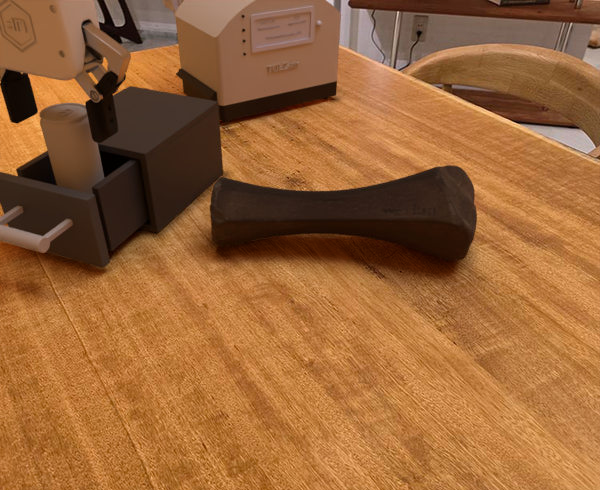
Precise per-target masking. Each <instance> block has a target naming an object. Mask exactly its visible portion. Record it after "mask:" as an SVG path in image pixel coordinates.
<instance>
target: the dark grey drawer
mask: <svg viewBox="0 0 600 490" xmlns="http://www.w3.org/2000/svg"><path fill="white" fill-rule="evenodd" d="M99 153H100V158H101V163H102V168H103V173H104V177H105V178H104V179H102V180H101V181H100V182H98V183H97V184H95V185H94V186H93V187H92V191H93V194H89V193H85V192H81V191H77V190H73V189H69V188H65V187H61V186H57V183H56V180H55V176H54V172H53V169H52V165H51V161H50V158H49V154H48V150H47V149H46V151H43V152H42V153H41V154H39V155H37V156H36V157H33V158H31V159H30V160H28V161H27V162H26V163H23V164H22V165H21V166H18V167H17V168H16V169H15V172H16V175H15V174H11V173H8V172H4V171H3V172H2V171H0V206H1V210H2V212H3V215H1V216H0V242H2V243H6V244H9V245H13V246H17V247H19V248H22V249H26V250H30V251H33V252H37V253H41V254H45V253H48V254H51V255H55V256H59V257H62V258H66V259H69V260H73V261H76V262H80V263H83V264H87V265H89V266H94V267H97V268H100V269H104V268H106V267H107V266H108V265H109V264H110V263H111V258H110V255H109V252H113V251H115V249H116V248H118V247H119V246H120V245H121V244H122V243H123V242H125V241H126V240H128V238H129V237H130V236H131V235H133V234H134V233H135V232H136V231H137V230H138V229H139V227H141V226H142V225H143V224H144V223H145V222H146V221H148V220H149V219H150V216H149V210H148V205H147V199H146V193H145V187H144V181H143V175H142V169H141V163H140V159H136V158H131V157H127V156H122V155H117V154H113V153H108V152H104V151H99ZM6 224H7V225H6Z"/></svg>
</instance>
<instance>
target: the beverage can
mask: <svg viewBox="0 0 600 490" xmlns="http://www.w3.org/2000/svg"><path fill="white" fill-rule="evenodd" d="M39 118H40V119H39V125H40V129H41V132H42V136H43V140H44V143H45V147H46V151H47V150H48V154H49V158H50V161H51V165H52V169H53V172H54V176H55V180H56V183H57V186H61V187H65V188H69V189H73V190H77V191H81V192H85V193H89V194H93V191H92V187H93V186H94V185H95V184H97V183H98V182H100V181H101V180H102V179H104V178H105V177H104V173H103V168H102V163H101V158H100V153H99V148H98V143H97V142H94V141H93V139H92V135H91V130H90V125H89V120H88V116H87V111H86V106H85V104H83V103H77V102H61V103H55V104H51V105H49V106H46V107H44V108H43V109H41V110H40V112H39Z"/></svg>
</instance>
